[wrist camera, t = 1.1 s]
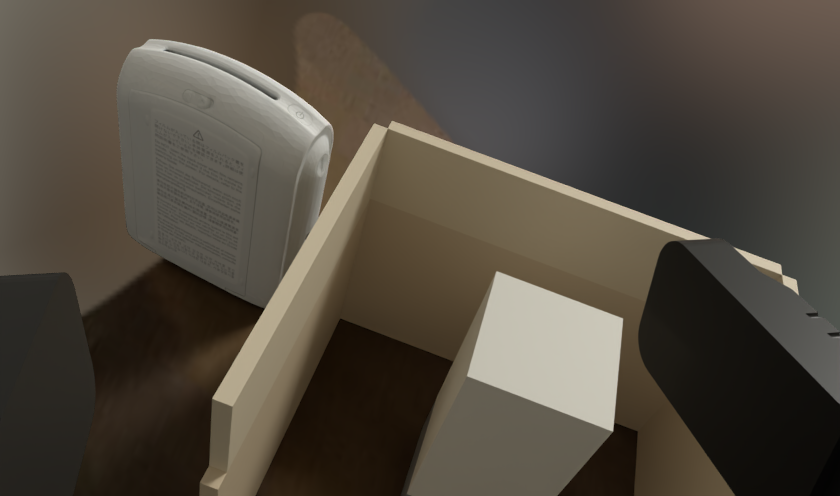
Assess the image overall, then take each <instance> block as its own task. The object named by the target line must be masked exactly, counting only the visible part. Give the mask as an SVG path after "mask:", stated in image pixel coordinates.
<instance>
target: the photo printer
mask: <svg viewBox="0 0 840 496" xmlns="http://www.w3.org/2000/svg"><path fill="white" fill-rule="evenodd" d="M117 106H118V121H119V132H120V144H121V157H122V158H121V159H122V171H123V185H124V201H125V213H126V214H125V216H126V227H127V231H128V233H129V235H130V236H131V237H132V238H133V239H134V240H135V241H137V242H138V243H140V244H141V245H142V246H144V247H145V248H147V249H149V250H150V251H152V252H154V253H156V254H158V255H159V256H161V257H163V258H165V259H166V260H168V261H170V262H172V263H174V264H176V265H178V266H180V267H181V268H183V269H185V270H187V271H189V272H191V273H193V274H195V275H196V276H198V277H200V278H202V279H204V280H206V281H208V282H210V283H212V284H214V285H216V286H217V287H219V288H221V289H224V290H226V291H227V292H229V293H231V294H233V295H235V296H237V297H239V298H241V299H243V300H246V301H248V302H250V303H252V304H254V305H257V306H259V307H262V308H266V306H267V305H268V303H269V301H270V300H271V298H272V296H273V294H274V293H275V291H276V289H277V288H278V286H279V284H280V283H281V281H282V279H283V277H284V276H285V274H286V272H287V271H288V269H289V267H290V266H291V264H292V262H293V261H294V259H295V257H296V255H297V254H298V252H299V250H300V249H301V247H302V245H303V244H304V242H305V240H306V238H307V237H308V235H309V233H310V232H311V230H312V228H313V227H314V225H315V223H316V221H317V220H318V216H319V211H320V206H321V201H322V196H323V191H324V186H325V181H326V176H327V171H328V166H329V161H330V155H331V150H332V145H333V128H332V126H331V124H330V123H329V122H328V121H327V120H326V119H325V118H324V117H323V116H322V115H321V114H320V113H318V112H317V111H316V110H315V109H314V108H313V107H312V106H310V105H309V104H308V103H307V102H305V101H304V100H303V99H301V98H300V97H299V96H297V95H296V94H295V93H293V92H292V91H290V90H289V89H287V88H286V87H284V86H283V85H281V84H279V83H278V82H276V81H275V80H273V79H271V78H270V77H268V76H266V75H264V74H263V73H261V72H259V71H257V70H255V69H253V68H251V67H249V66H247V65H245V64H243V63H241V62H239V61H236V60H234V59H231V58H229V57H227V56H224V55H222V54H219V53H216V52H213V51H211V50H208V49H205V48H201V47H198V46H194V45H189V44H185V43H180V42H174V41H167V40H154V39H150V40H148V41H147V42H146V43H145V44H144V45H143V46H141V47H139V48H133V49H132V50H131V52H130V53H129V55H128V56H127V59H126V60H125V62H124V64H123V67H122V69H121V73H120V76H119V80H118V84H117Z"/></svg>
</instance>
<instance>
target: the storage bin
mask: <svg viewBox="0 0 840 496" xmlns="http://www.w3.org/2000/svg"><path fill="white" fill-rule="evenodd" d="M698 239H710V238H707V237H704V236H702V235H699V234H696V233H693V232H691V231H688V230H685V229H683V228H680V227H677V226H674V225H672V224H669V223H666V222H664V221H661V220H658V219H656V218H653V217H650V216H648V215H645V214H642V213H639V212H637V211H634V210H631V209H629V208H626V207H623V206H621V205H618V204H615V203H612V202H610V201H607V200H604V199H601V198H599V197H596V196H594V195H591V194H588V193H585V192H583V191H580V190H577V189H575V188H572V187H569V186H567V185H564V184H561V183H558V182H556V181H553V180H550V179H548V178H545V177H542V176H539V175H537V174H534V173H531V172H529V171H526V170H523V169H521V168H518V167H515V166H513V165H510V164H507V163H505V162H502V161H499V160H496V159H494V158H491V157H488V156H486V155H483V154H480V153H477V152H475V151H472V150H469V149H467V148H464V147H461V146H459V145H456V144H453V143H451V142H448V141H445V140H442V139H440V138H437V137H434V136H432V135H429V134H426V133H424V132H421V131H418V130H415V129H413V128H410V127H407V126H405V125H402V124H399V123H397V122H394V121H392V122H391V124H390V126H389V127H388V128H385V127H382V126H379V125H377V124H374V125H373V126H372V128H371V130H370V131H369V133H368V135H367V136H366V138H365V140H364V142H363V143H362V145H361V147H360V148H359V150H358V152H357V153H356V155H355V157H354V159H353V160H352V162H351V164H350V165H349V167H348V169H347V170H346V172H345V174H344V176H343V177H342V179H341V181H340V182H339V184H338V186H337V187H336V189H335V191H334V193H333V194H332V196H331V198H330V199H329V201H328V203H327V204H326V206H325V208H324V210H323V211H322V213H321V215H320V216H319V218H318V220H317V221H316V223H315V225H314V227H313V228H312V230H311V232H310V233H309V235H308V237H307V238H306V240H305V242H304V244H303V245H302V247H301V249H300V250H299V252H298V254H297V255H296V257H295V259H294V261H293V262H292V264H291V266H290V267H289V269H288V271H287V272H286V274H285V276H284V277H283V279H282V281H281V283H280V284H279V286H278V288H277V289H276V291H275V293H274V294H273V296H272V298H271V300H270V301H269V303H268V305H267V306H266V308H265V310H264V311H263V313H262V315H261V317H260V318H259V320H258V322H257V323H256V325H255V327H254V328H253V330H252V332H251V334H250V335H249V337H248V339H247V340H246V342H245V344H244V345H243V347H242V349H241V351H240V352H239V354H238V356H237V357H236V359H235V361H234V362H233V364H232V366H231V368H230V369H229V371H228V373H227V374H226V376H225V378H224V379H223V381H222V383H221V385H220V386H219V388H218V390H217V391H216V393H215V395H214V396H213V398H212V413H211V436H210V459H209V467H208V469H207V471H206V472H205V474H204V476H203V478H202V480H201V481H200V496H256V493H257V491H258V489H259V487H260V485H261V483H262V481H263V479H264V477H265V475H266V473H267V470H268V468H269V466H270V464H271V462H272V460H273V458H274V456H275V454H276V452H277V450H278V447H279V445H280V443H281V441H282V439H283V437H284V435H285V433H286V431H287V429H288V427H289V424H290V422H291V420H292V418H293V416H294V414H295V412H296V410H297V408H298V406H299V403H300V401H301V399H302V397H303V395H304V393H305V391H306V389H307V387H308V385H309V383H310V380H311V378H312V376H313V374H314V372H315V370H316V368H317V366H318V364H319V362H320V360H321V357H322V355H323V353H324V351H325V349H326V347H327V345H328V343H329V341H330V339H331V337H332V334H333V332H334V330H335V328H336V326H337V324H338V322H339V320H340V319H343V320H346V321H348V322H351V323H353V324H356V325H359V326H361V327H364V328H367V329H369V330H372V331H375V332H377V333H380V334H382V335H385V336H388V337H390V338H393V339H396V340H398V341H401V342H403V343H406V344H409V345H411V346H414V347H417V348H419V349H422V350H425V351H427V352H430V353H432V354H435V355H438V356H440V357H443V358H446V359H448V360H451V361H454V360H455V358H456V356H457V353H458V351H459V349H460V347H461V345H462V343H463V341H464V339H465V337H466V334H467V332H468V330H469V328H470V326H471V324H472V322H473V320H474V318H475V315H476V313H477V311H478V309H479V307H480V305H481V303H482V301H483V299H484V297H485V294H486V292H487V290H488V288H489V286H490V284H491V282H492V280H493V278H494V275H495V273H496V271H498V272H500V273H503V274H506V275H508V276H511V277H514V278H516V279H519V280H522V281H524V282H527V283H530V284H532V285H535V286H538V287H540V288H543V289H546V290H548V291H551V292H554V293H556V294H559V295H562V296H564V297H567V298H570V299H572V300H575V301H578V302H580V303H583V304H586V305H588V306H591V307H594V308H596V309H599V310H602V311H604V312H607V313H610V314H612V315H615V316H618V317H620V318H623V326H622V337H621V349H620V360H619V371H618V382H617V393H616V404H615V416H614V423H617V424H619V425H622V426H625V427H627V428H630V429H633V430H635V431H638V437H637V454H636V471H635V487H634V496H735V495H734V493H733V492H732V490H731V489H730V487H729V486H728V485H727V483H726V482H725V480H724V479H723V477H722V476H721V475H720V473H719V472H718V470H717V469H716V467H715V466H714V465H713V463H712V462H711V460H710V459H709V457H708V456H707V455H706V453H705V452H704V450H703V449H702V447H701V446H700V445H699V443H698V442H697V440H696V439H695V437H694V436H693V435H692V433H691V432H690V430H689V429H688V427H687V426H686V425H685V423H684V422H683V420H682V419H681V417H680V416H679V415H678V413H677V412H676V410H675V409H674V407H673V406H672V405H671V403H670V402H669V400H668V399H667V397H666V396H665V395H664V393H663V392H662V390H661V389H660V387H659V386H658V385H657V383H656V382H655V380H654V379H653V377H652V376H651V375H650V373H649V372H648V370H647V369H646V367H645V365H644V363H643V361H642V358H641V355H640V351H639V344H638V331H639V325H640V321H641V317H642V314H643V310H644V307H645V303H646V299H647V296H648V292H649V289H650V285H651V282H652V278H653V274H654V271H655V267H656V264H657V260H658V257H659V254H660V251H661V250H662V248H663V247H664V245H665V244H667V243H668V242H670V241H680V240H698ZM735 249H736V248H735ZM736 250H737V251H738V252H739V253H740V254H741V255H742V256H743V257H745V258H746V259H747V260H748V261H749V262H750V263H751V264H752V265H753V266H754V267H755V268H757V269H758V270H759V271H760V272H762V273H764V274H765V275H767V276H769V277H771V278H773V279H774V280H776V281H778V282H780V283H782V284H784V285H785V286H787V287H789V288H791V289H792V290H793V291H795V292H796V293H797V294H798V288H797V282H796V280H795V279H792V278H789V277H787V276H784V275H782V271H781V265H780V264H777V263H774V262H772V261H769V260H766V259H764V258H761V257H758V256H755V255H753V254H750V253H747V252H745V251H742V250H739V249H736Z"/></svg>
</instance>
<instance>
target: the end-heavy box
mask: <svg viewBox="0 0 840 496" xmlns="http://www.w3.org/2000/svg"><path fill="white" fill-rule="evenodd" d="M622 326H623V318H620V317H618V316H615V315H612V314H610V313H607V312H604V311H602V310H599V309H596V308H594V307H591V306H588V305H586V304H583V303H580V302H578V301H575V300H572V299H570V298H567V297H564V296H562V295H559V294H556V293H554V292H551V291H548V290H546V289H543V288H540V287H538V286H535V285H532V284H530V283H527V282H524V281H522V280H519V279H516V278H514V277H511V276H508V275H506V274H503V273H500V272H498V271H496V273H495V275H494V278H493V280H492V282H491V284H490V286H489V288H488V290H487V292H486V294H485V297H484V299H483V301H482V303H481V305H480V307H479V309H478V311H477V313H476V315H475V318H474V320H473V322H472V324H471V326H470V328H469V330H468V332H467V334H466V337H465V339H464V341H463V343H462V345H461V347H460V349H459V351H458V353H457V356H456V358H455V360H454V362H453V364H452V366H451V368H450V370H449V372H448V375H447V377H446V379H445V381H444V383H443V385H442V387H441V389H440V391H439V394H438V396H437V398H436V400H435V402H434V404H433V406H432V408H431V410H430V412H429V415H428V417H427V419H426V421H425V423H424V425H423V427H422V430H421V433H420V436H419V439H418V442H417V446H416V449H415V452H414V455H413V458H412V461H411V464H410V468H409V471H408V474H407V477H406V480H405V483H404V487H403V490H402V493H401V496H557V495H558V494H559V493H560V492H561V491H562V490H563V489H564V487H565V486H566V485H567V484H568V483H569V482H570V481H571V479H572V478H573V477H574V476H575V475H576V474H577V473H578V471H579V470H580V469H581V468H582V467H583V466H584V464H585V463H586V462H587V461H588V460H589V459H590V458H591V456H592V455H593V454H594V453H595V452H596V451H597V450H598V448H599V447H600V446H601V445H602V444H603V443H604V441H605V440H606V439H607V438H608V437H609V436H610V435H611V433H612V432H613V427H614V416H615V404H616V393H617V382H618V371H619V360H620V349H621V337H622Z"/></svg>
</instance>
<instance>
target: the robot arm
mask: <svg viewBox="0 0 840 496" xmlns="http://www.w3.org/2000/svg"><path fill="white" fill-rule="evenodd" d="M839 333H840V332H839V331H838V330H837V329H836V328H835V327H834V326H832V325H831V324H830V323H829V322H828V321H827V320H826V319H825V318H823V317H820V318H819V317H818V312H817V311H816V310H815V309H813V308H812V307H811V306H810V305H809V304H808V303H807V302H806V301H805V300H803V299H802V298H801V297H800V296H799V295H798V294H797V293H796V292H795V291H793V290H792V289H791V288H789V287H787V286H785V285H784V284H782V283H780V282H778V281H776V280H774V279H773V278H771V277H769V276H767V275H765V274H764V273H762V272H760V271H759V270H758V269H757V268H755V267H754V266H753V265H752V264H751V263H750V262H749V261H748V260H747V259H746V258H745V257H743V256H742V255H741V254H740V253H739V252H738V251H737V250H736V249H735V248H734V247H732V246H731V245H730V244H729V243H728V242H727V241H725V240H723V239H718V238H717V239H698V240H680V241H670V242H668V243H667V244H665V245H664V247H663V248H662V250H661V251H660V254H659V257H658V260H657V264H656V267H655V271H654V274H653V278H652V282H651V285H650V289H649V292H648V296H647V299H646V303H645V307H644V310H643V314H642V317H641V321H640V325H639V331H638V344H639V351H640V355H641V358H642V361H643V363H644V365H645V367H646V369H647V370H648V372H649V373H650V375H651V376H652V377H653V379H654V380H655V382H656V383H657V385H658V386H659V387H660V389H661V390H662V392H663V393H664V395H665V396H666V397H667V399H668V400H669V402H670V403H671V405H672V406H673V407H674V409H675V410H676V412H677V413H678V415H679V416H680V417H681V419H682V420H683V422H684V423H685V425H686V426H687V427H688V429H689V430H690V432H691V433H692V435H693V436H694V437H695V439H696V440H697V442H698V443H699V445H700V446H701V447H702V449H703V450H704V452H705V453H706V455H707V456H708V457H709V459H710V460H711V462H712V463H713V465H714V466H715V467H716V469H717V470H718V472H719V473H720V475H721V476H722V477H723V479H724V480H725V482H726V483H727V485H728V486H729V487H730V489H731V490H732V492H733V493H734V495H735V496H840V335H839ZM94 409H95V376H94V370H93V365H92V360H91V356H90V352H89V348H88V343H87V339H86V335H85V330H84V326H83V322H82V317H81V313H80V309H79V305H78V300H77V296H76V292H75V288H74V284H73V282H72V279H71V278H70V276H69V275H68V274H67V273H47V274H28V275H11V276H10V275H9V276H0V496H73V494H74V490H75V486H76V482H77V478H78V474H79V470H80V467H81V463H82V459H83V455H84V451H85V447H86V443H87V439H88V436H89V432H90V428H91V424H92V420H93V415H94Z"/></svg>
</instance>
